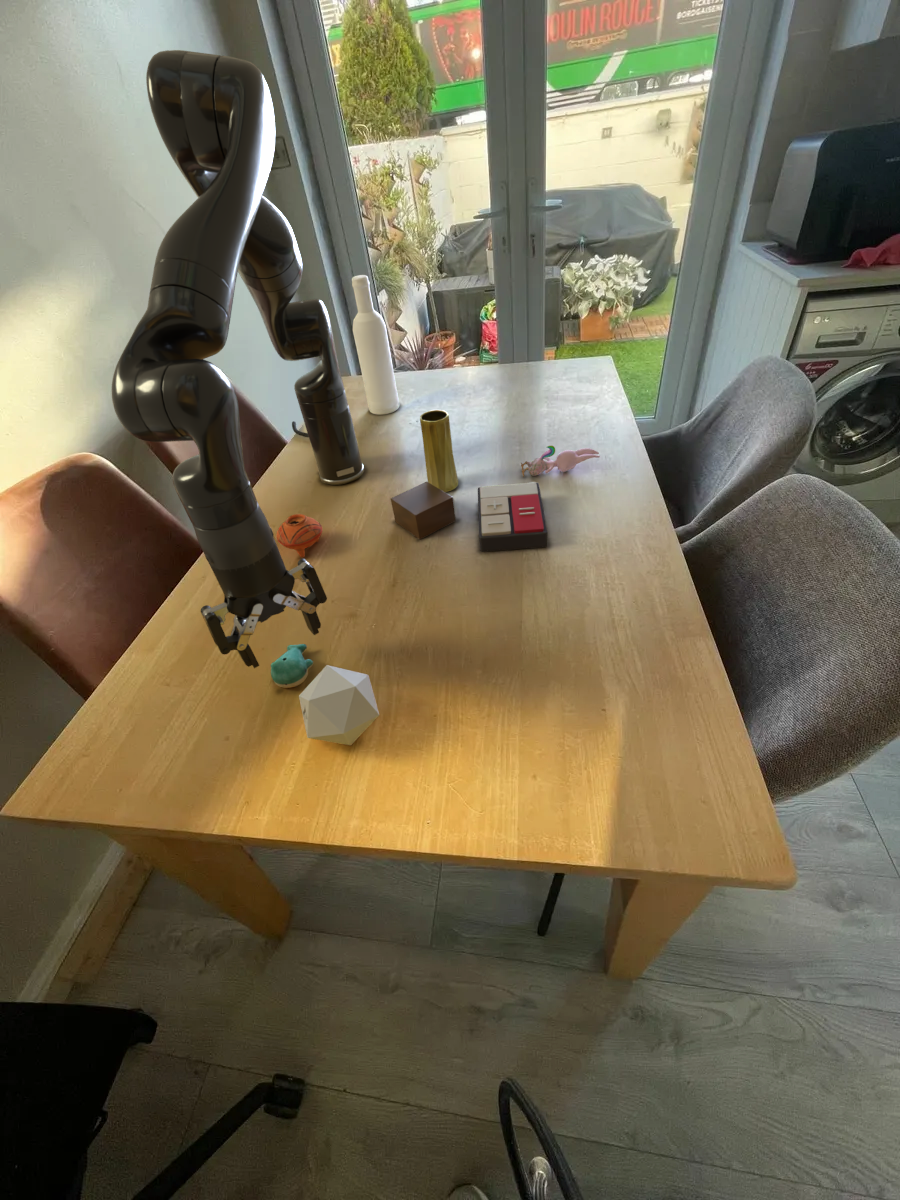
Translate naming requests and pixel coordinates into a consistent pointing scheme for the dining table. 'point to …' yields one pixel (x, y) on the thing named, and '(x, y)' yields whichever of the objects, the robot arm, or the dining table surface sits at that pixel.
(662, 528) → the dining table surface
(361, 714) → the die
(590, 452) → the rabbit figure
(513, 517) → the calculator
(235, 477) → the robot arm
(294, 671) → the whale figurine
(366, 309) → the bottle
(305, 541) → the pot
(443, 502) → the walnut block
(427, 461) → the vase
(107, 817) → the dining table surface
